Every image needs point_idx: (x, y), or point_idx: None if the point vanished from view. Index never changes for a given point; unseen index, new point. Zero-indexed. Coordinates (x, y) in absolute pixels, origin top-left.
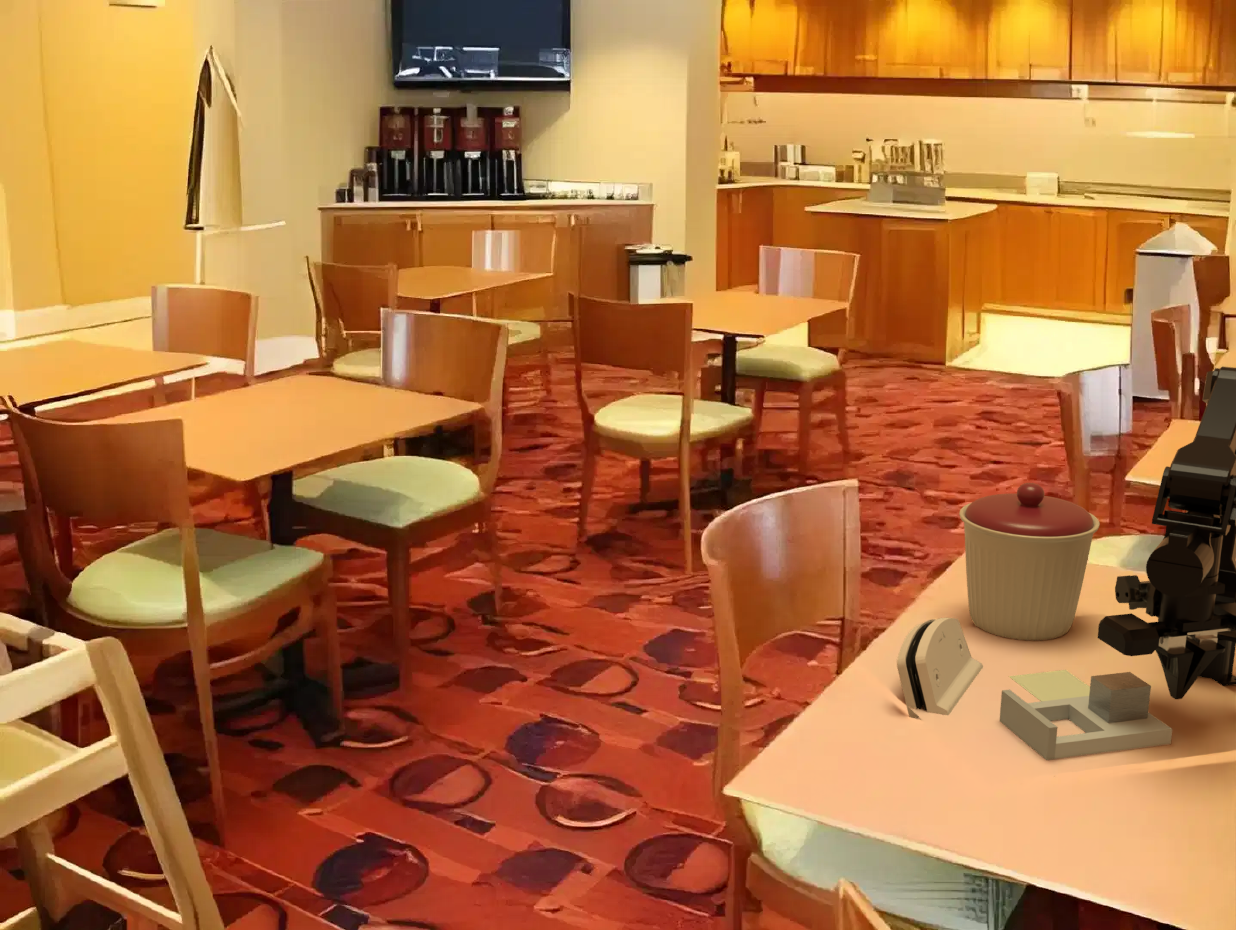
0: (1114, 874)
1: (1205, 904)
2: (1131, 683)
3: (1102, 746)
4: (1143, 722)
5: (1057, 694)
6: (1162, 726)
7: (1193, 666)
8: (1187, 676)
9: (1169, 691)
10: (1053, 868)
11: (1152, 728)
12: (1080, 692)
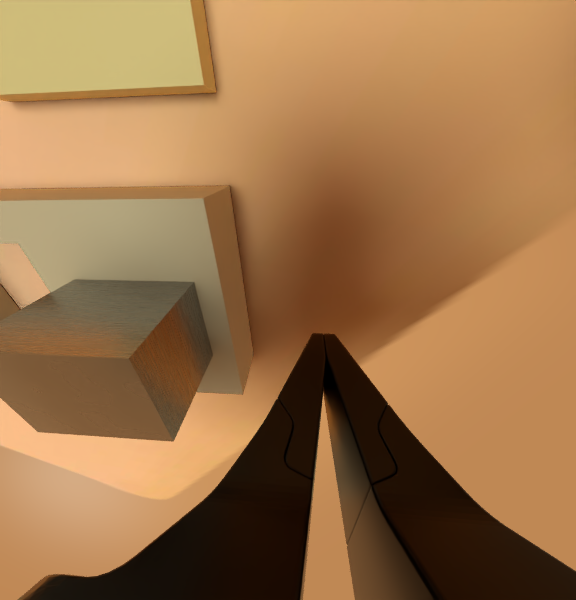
0: (100, 469)
1: (159, 494)
2: (110, 421)
3: None
4: None
5: (20, 16)
6: (228, 384)
7: (345, 514)
8: (333, 445)
9: (308, 342)
10: (49, 456)
11: (203, 385)
12: (121, 16)
